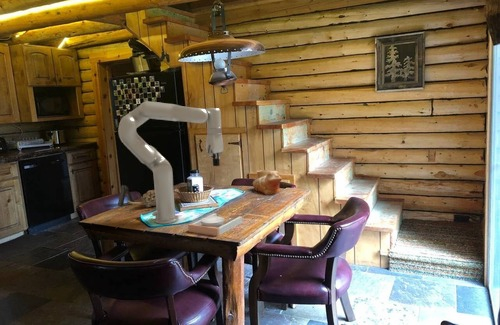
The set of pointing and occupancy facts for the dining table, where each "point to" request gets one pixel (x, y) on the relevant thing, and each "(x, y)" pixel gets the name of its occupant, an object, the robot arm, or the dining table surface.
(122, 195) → the phone stand
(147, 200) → the knobbly ball on stick
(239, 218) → the bay
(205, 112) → the robot arm
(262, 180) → the bread loaf
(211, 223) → the ramekin
